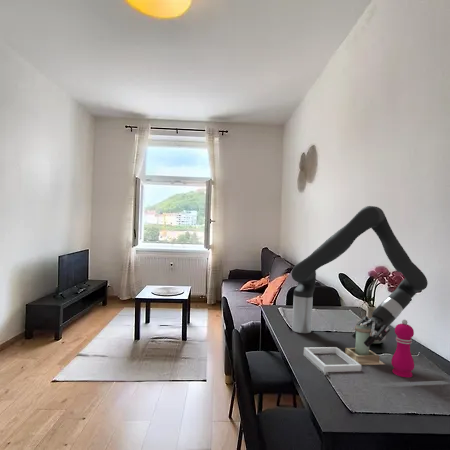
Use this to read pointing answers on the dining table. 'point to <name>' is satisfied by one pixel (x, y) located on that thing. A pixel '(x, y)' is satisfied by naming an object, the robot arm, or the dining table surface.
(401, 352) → the pepper mill
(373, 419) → the dining table surface
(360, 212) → the robot arm
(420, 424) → the dining table surface
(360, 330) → the green lidded jar
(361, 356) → the holder
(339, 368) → the tray
